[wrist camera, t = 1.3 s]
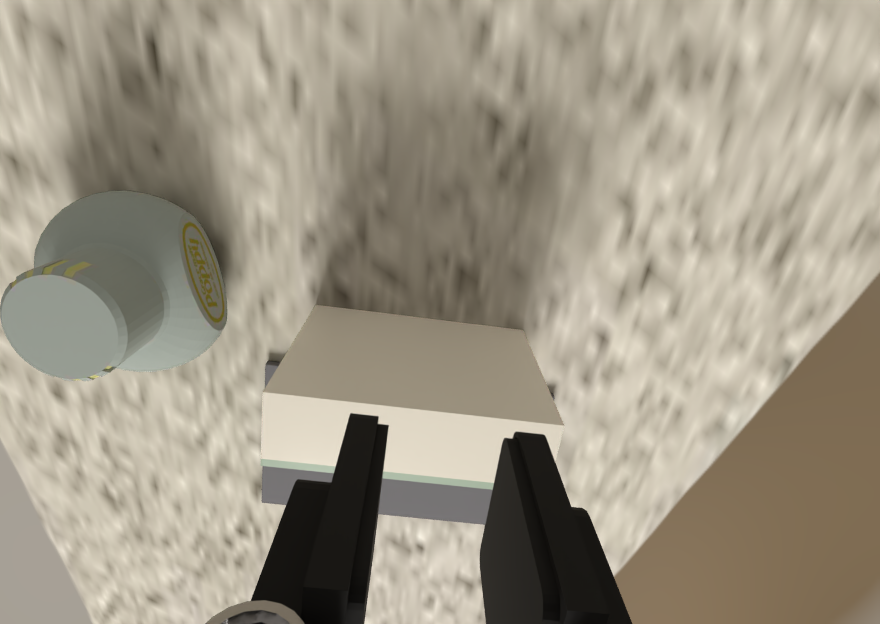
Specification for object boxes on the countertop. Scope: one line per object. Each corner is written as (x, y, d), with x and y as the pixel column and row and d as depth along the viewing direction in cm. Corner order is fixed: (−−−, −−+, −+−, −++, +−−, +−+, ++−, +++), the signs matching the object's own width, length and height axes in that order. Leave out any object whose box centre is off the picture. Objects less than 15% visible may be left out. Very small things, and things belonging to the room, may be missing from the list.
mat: (268, 360, 37) (265, 364, 36) (552, 393, 38) (554, 397, 37) (263, 497, 41) (261, 502, 40) (522, 522, 42) (523, 528, 41)
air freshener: (65, 197, 33) (-81, 229, 23) (195, 174, 32) (100, 197, 23) (130, 357, 37) (26, 440, 27) (247, 337, 36) (183, 415, 27)
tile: (316, 304, 36) (262, 392, 24) (522, 329, 36) (564, 425, 25) (312, 358, 37) (260, 465, 26) (512, 382, 38) (547, 495, 26)
